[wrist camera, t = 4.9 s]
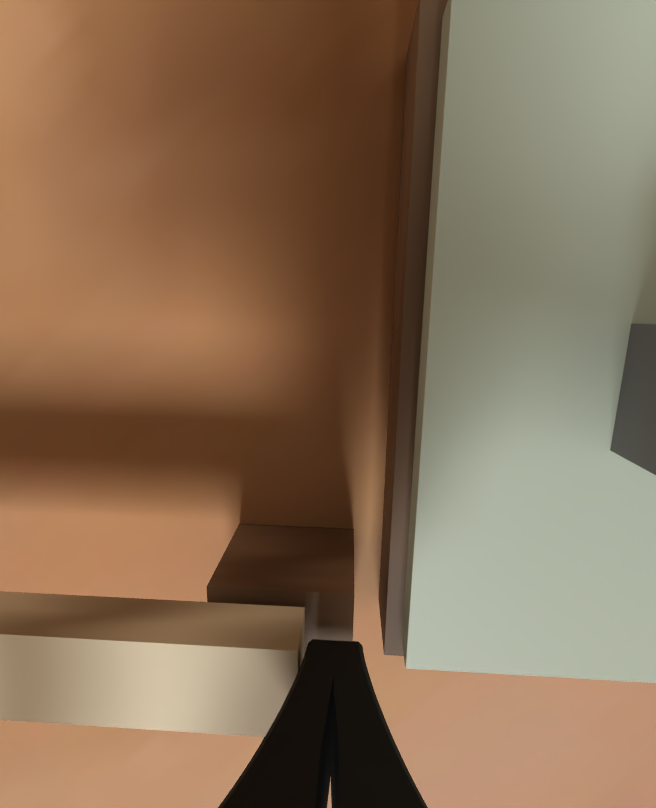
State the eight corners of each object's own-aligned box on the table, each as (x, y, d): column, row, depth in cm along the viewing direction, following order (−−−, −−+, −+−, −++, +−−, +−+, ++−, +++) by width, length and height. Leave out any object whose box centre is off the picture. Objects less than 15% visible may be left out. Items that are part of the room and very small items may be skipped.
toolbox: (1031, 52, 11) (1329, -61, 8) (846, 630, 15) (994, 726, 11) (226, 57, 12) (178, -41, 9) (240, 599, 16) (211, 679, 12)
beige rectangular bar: (304, 607, 11) (297, 651, 10) (304, 686, 12) (297, 739, 10) (-129, 584, 12) (-195, 623, 11) (-111, 661, 13) (-172, 708, 11)
